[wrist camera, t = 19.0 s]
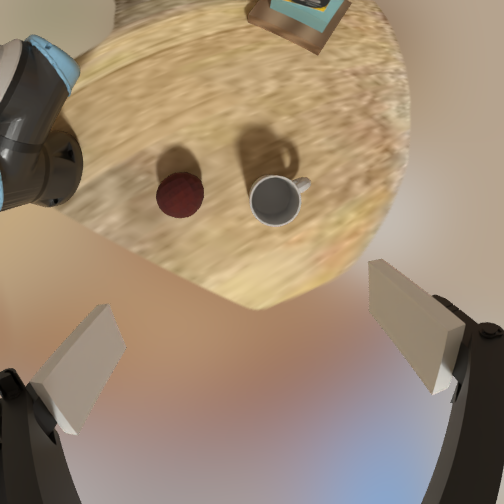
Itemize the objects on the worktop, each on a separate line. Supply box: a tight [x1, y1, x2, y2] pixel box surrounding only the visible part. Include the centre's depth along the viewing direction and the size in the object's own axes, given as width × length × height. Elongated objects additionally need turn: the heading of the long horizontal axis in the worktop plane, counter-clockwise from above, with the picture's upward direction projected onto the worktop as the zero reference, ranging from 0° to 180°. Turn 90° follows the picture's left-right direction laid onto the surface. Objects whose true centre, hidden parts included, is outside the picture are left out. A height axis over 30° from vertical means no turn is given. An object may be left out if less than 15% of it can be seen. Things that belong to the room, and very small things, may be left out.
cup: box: [249, 175, 311, 227], centre depth 44 cm, size 7×10×9 cm
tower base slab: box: [248, 0, 352, 55], centre depth 37 cm, size 14×14×4 cm
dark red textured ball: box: [156, 172, 204, 218], centre depth 44 cm, size 7×8×7 cm
